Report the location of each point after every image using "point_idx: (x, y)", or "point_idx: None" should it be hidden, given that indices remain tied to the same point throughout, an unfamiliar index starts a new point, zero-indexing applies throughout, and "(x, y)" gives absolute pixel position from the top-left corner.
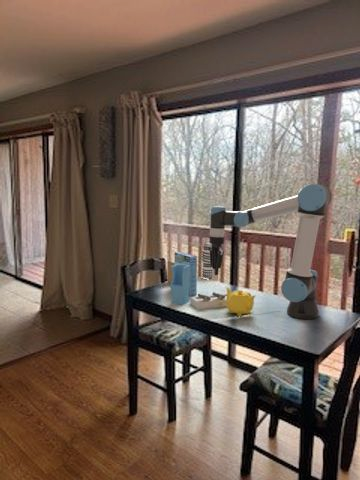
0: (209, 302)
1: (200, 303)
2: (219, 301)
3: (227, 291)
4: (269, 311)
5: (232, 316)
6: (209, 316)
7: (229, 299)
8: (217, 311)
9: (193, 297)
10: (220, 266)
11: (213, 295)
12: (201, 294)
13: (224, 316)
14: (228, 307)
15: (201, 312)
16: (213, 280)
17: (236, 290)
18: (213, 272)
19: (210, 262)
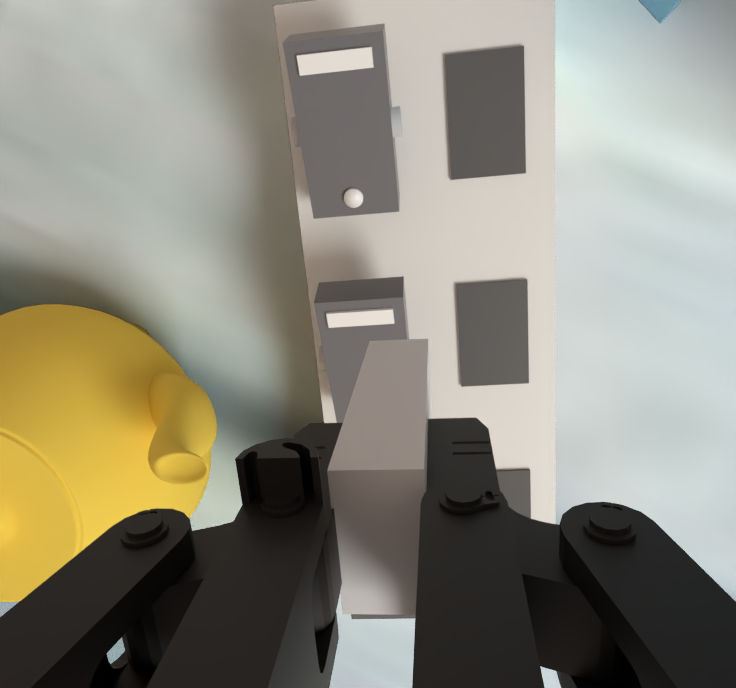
0: (297, 183)
1: (281, 44)
2: (314, 322)
3: (163, 433)
4: (119, 654)
5: (17, 305)
6: (33, 68)
7: (7, 356)
8: (183, 223)
9: (538, 20)
10: (107, 672)
11: (363, 279)
12: (368, 84)
13: (22, 228)
14: (30, 308)
15: (175, 24)
16: (369, 347)
17: (405, 617)
18: (357, 414)
19: (707, 591)
